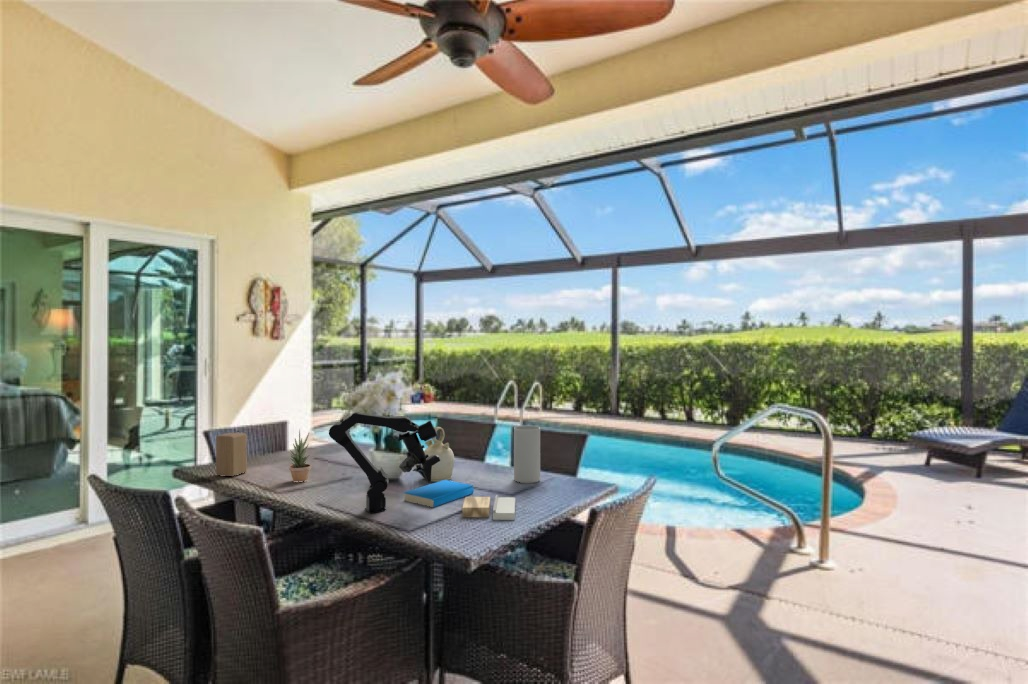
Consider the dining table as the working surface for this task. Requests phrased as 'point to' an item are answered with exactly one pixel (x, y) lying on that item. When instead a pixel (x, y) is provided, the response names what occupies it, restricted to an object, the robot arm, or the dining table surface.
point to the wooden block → (231, 454)
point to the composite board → (504, 508)
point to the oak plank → (476, 507)
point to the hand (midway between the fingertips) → (429, 482)
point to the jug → (446, 463)
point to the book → (438, 493)
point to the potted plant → (299, 461)
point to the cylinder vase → (527, 454)
